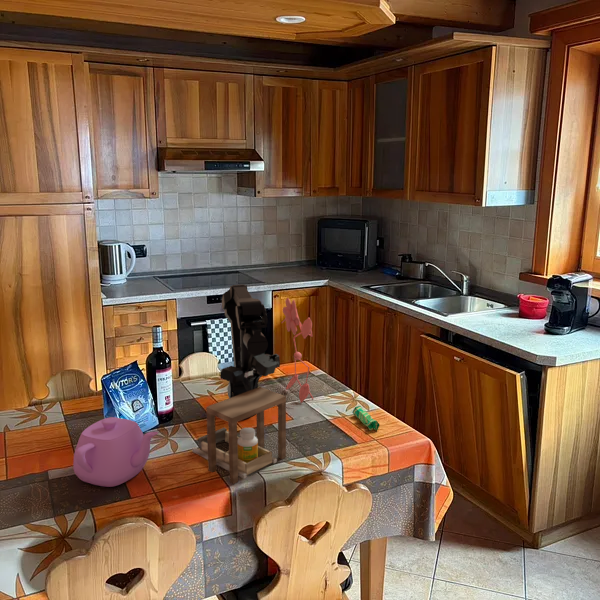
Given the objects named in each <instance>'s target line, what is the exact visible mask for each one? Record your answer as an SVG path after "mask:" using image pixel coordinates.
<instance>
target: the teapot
mask: <svg viewBox="0 0 600 600" xmlns="http://www.w3.org/2000/svg"><path fill="white" fill-rule="evenodd" d="M158 434H159V432H158V431H149V432H146V433H145V434H144V433H143V431H142V429H141V427H140V425H139V424H138V422H136V421H134V420H132V419H131V420H130V419H126V418H123V417H122V418H121V417H120V418H119V417H114V416H112V417H106V418H103V419H100V420H98V421H96V422H94V423H92V424H90V425H89V426H88V427H86V428H85V429H84V430H83V431H82V432H81V434H80V436H79V438H78V442H77V444H76V447H75V450H74V454H73V465H72V466H73V472H74V474H75V476H76V477H77V478H79V480H81V481H82V482H84V483H88V484H90V485H94V486H100V487H107V488H109V487H110V488H111V487H116V486H119V485H121V484H123V483H126V482H127V481H129V480H132V479H133V478H135V477H136V476H137V475H138V474H139V473H140V472H141V471H142V470H143V469H144V467H145V465H146V464H147V462H148V460H149V457H150V452H151V441H152V439H153V437H154V436H156V435H158Z"/></svg>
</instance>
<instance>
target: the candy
mask: <svg viewBox="0 0 600 600" xmlns="http://www.w3.org/2000/svg"><path fill="white" fill-rule="evenodd" d="M351 413H352V415H353V416H354V417H356V418H357V419H359V421H360V422H361V423H362V424H363V425H364V426H366V427H367V428H368V430H369V431H370V432H371V431H372V430H375V431H378V430H379V428H380V426H381V425H380V423H379V422H378V420H376V419H373V417H372V416H371V415H370V413H368V411H366V410H364V409H363V407H362V406H361V405H357V406H355V407H354V408H353V410H352V412H351Z"/></svg>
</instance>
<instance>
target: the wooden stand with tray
mask: <svg viewBox="0 0 600 600" xmlns="http://www.w3.org/2000/svg"><path fill="white" fill-rule="evenodd" d="M276 406H277V433H278V434H277V458H276V457H275V456H272V463H270V464H268V465H266V466H264V467H262V468H260V469H258V470H256V471H254V472H252V473H251V474H249V475H247V474H246V473H244V472H242V471H240V470H238V453H237V436H238V422H240V421H244V420H246V419H249V418H251V417H253V415H254V416H255V414H256V438H257V439H258V446H260V447H262V448H264V449H265V411H267V410H269V409H271V408H274V407H276ZM286 407H287V396H285V394H284V395H283V394H280V393H277V392H275V391H273V390H270V389H268V388H264V387H262V386H258V388H255V389H253V390H250V391H247V392H245V393H242V394H239V395H237V396H234V397H231V398H229V397H228V398H227V399H224V400H221V401H219V402H215V403H212V404H210V405H207V406H206V407H205V408H206V431H207V432H206V435H207V441H208V454H207V453H205V452H204V451H202V450H201V449H200V448H199V447H198V448H197V447H196V446H195V447H192V448H191V452H192V453H194V454H196V455H198V456H200V457H202V458H204V459H205V460H207V463H208V465H207V467H208V472H210V473H214V472H216V471H217V466H218V467H221V468H222V469H225V470H226V471H227V472H229V483H231V484H232V485H235V484H237V483H238V482H239V477H240V478H241V479H243V480H244V479H247V478H248V476H249V477H250V476H253V475H254V474H256V473H258V472H260V470H261V471H262V470H265V469H266V468H268V467H270V466H272V464H277V462H278V459H280V460H284V459H285V457H286V458H287V421H286V420H287V416H286V415H287V411H286V410H287V408H286ZM250 416H251V417H250ZM248 417H249V418H248ZM216 418H218V419H221V420H223V421H225V422H227V424H228V428H227V429H228V430H227V431H228V432H229V443H228V451H229V464H227V463H225V462H223V461H221V460H219V459H217V458H216V448H217V443H216V434H215V431H216ZM245 418H246V419H245ZM243 419H244V420H243Z"/></svg>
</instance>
